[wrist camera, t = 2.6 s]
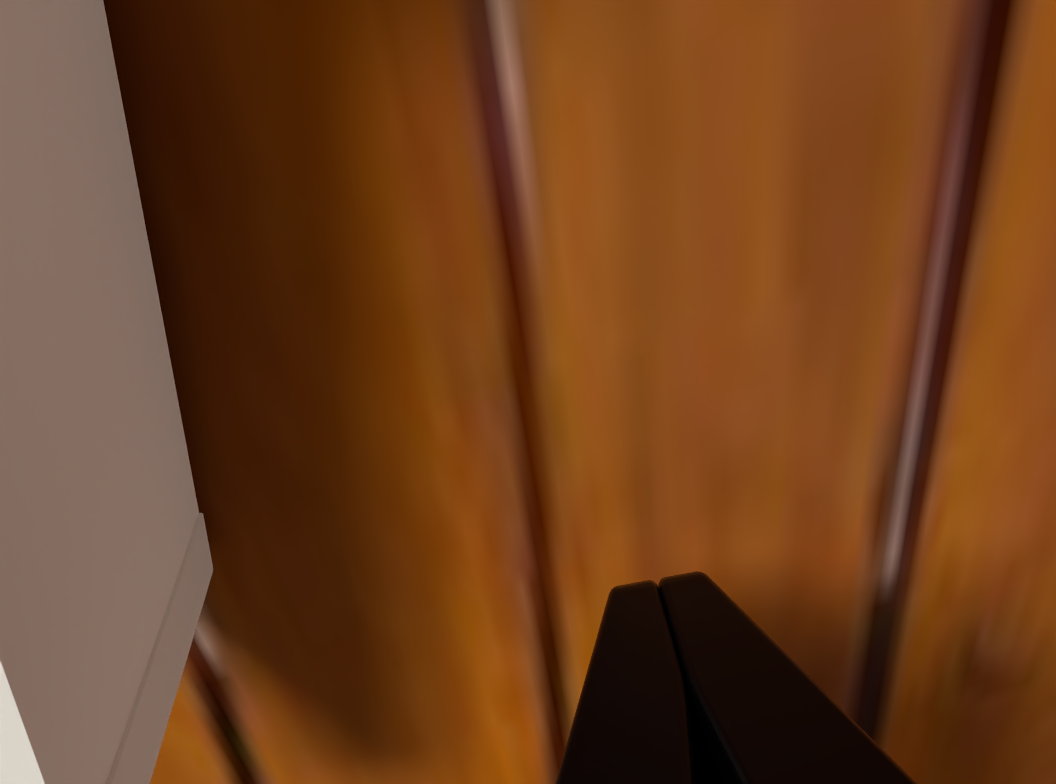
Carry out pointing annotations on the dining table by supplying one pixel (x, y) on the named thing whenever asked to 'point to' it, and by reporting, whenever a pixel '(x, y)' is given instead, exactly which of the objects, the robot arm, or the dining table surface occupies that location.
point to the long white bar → (84, 424)
